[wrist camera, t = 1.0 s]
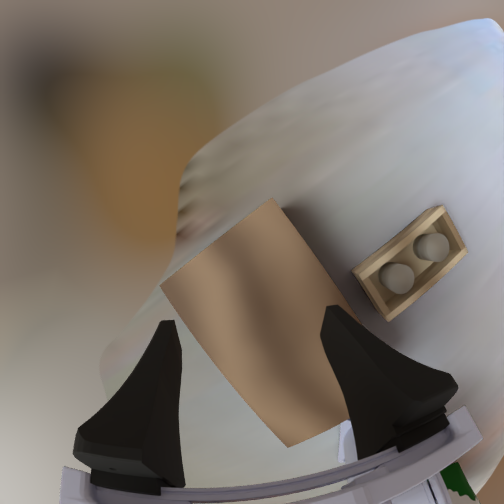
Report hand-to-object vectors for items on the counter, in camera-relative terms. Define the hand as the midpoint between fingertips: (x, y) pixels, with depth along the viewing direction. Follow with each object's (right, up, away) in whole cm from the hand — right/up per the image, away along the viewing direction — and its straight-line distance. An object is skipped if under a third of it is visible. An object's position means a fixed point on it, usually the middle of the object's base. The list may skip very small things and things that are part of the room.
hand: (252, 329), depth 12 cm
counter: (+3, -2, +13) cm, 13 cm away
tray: (+15, +3, +11) cm, 18 cm away
